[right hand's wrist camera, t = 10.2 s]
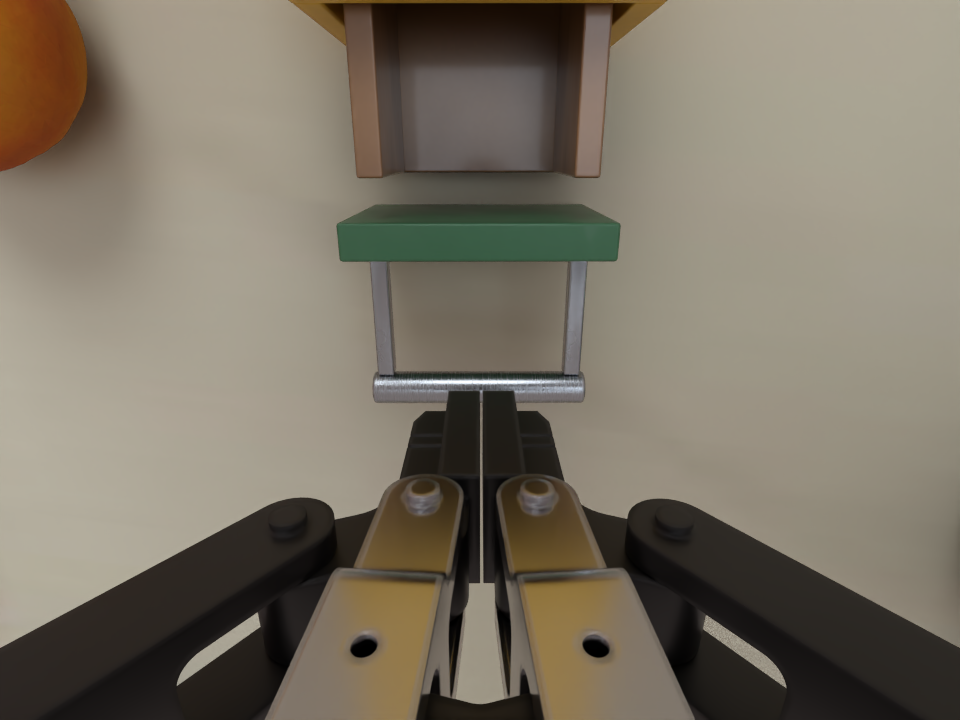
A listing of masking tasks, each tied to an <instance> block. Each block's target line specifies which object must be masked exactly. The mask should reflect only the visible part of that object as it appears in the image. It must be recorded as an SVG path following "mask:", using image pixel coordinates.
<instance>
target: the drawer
mask: <svg viewBox="0 0 960 720" xmlns="http://www.w3.org/2000/svg"><path fill="white" fill-rule="evenodd" d="M343 11H344V23H345V36H346V48H347V61H348V73H349V86H350V98H351V111H352V123H353V136H354V148H355V161H356V173H357V177H358V178H383V177H387V176H391V175H395V174H399V173H403V172H556V173H560V174H563V175H567V176H571V177H575V178H598V177H600V172H601V159H602V146H603V133H604V120H605V107H606V94H607V81H608V67H609V54H610V41H611V28H612V15H613V3H343ZM620 227H621V226H620V223H618V222H616V221H614V220H612V219H610V218H608V217H606V216H604V215H602V214H600V213H598V212H596V211H594V210H592V209H590V208H588V207H586V206H584V205H374V206H372V207H370V208H368V209H366V210H364V211H362V212H360V213H358V214H356V215H354V216H352V217H350V218H348V219H346V220H344V221H342V222H340V223H338V224H337V236H338V246H339V256H340V260H341V261H343V262H370V270H371V284H372V297H373V310H374V323H375V336H376V350H377V363H378V372H375V374H374V378H373V397H374V401H375V402H376V403H447V400H448V392H449V391H480V403H483V390H514V394H515V401H516V403H581V402H583V400H584V397H585V378H584V375H583V372H581V371H580V360H581V346H582V332H583V318H584V304H585V290H586V277H587V263H588V261H617V259H618V248H619V237H620ZM501 261H568V270H567V287H566V304H565V321H564V338H563V355H562V370H563V371H395V370H396V358H395V342H394V326H393V310H392V294H391V278H390V262H501Z"/></svg>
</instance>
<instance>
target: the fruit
mask: <svg viewBox="0 0 960 720" xmlns="http://www.w3.org/2000/svg"><path fill="white" fill-rule="evenodd" d="M86 85H87V60H86V51H85V46H84V42H83V38H82V34H81V31H80V29H79V26H78V23H77V21H76V19H75V17H74V15H73V13H72V11H71V9H70V7H69V5H68V4H67V3H66V1H65V0H0V171H3V170H7V169H11V168H13V167H16V166H18V165H21V164H24V163H25V162H27V161H29V160H30V159H32V158H34V157H36V156H38V155H40V154H42V153H44V152H46V151H47V150H49V149H50V148H51V147H52V146H54V145H55V144H57V143H58V142H59V141H60V140H61V139H62V138H63V137H64V136H65V135H66V133H67V132H68V130H69V129H70V126H71V124H72V123H73V121H74V119H75V118H76V116H77V113H78V111H79V110H80V108H81V106H82V104H83V101H84V97H85V93H86Z"/></svg>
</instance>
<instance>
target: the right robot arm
mask: <svg viewBox="0 0 960 720" xmlns="http://www.w3.org/2000/svg"><path fill="white" fill-rule="evenodd" d="M483 581H484V583H495V627H496V635H497V643H498V651H499V659H500V667H501V675H502V683H503V691H504V699H503V700H500V701H496V702H492V703H488V704H472V703H468V702H464V701H460V700H457V699H456V691H457V683H458V675H459V667H460V659H461V651H462V643H463V635H464V627H465V607H466V605H467V603H468V597H469V583H480V391H449V392H448V400H447V408H446V411H425V412H424V413H423V414H422V415H421V416H420V417H419V418H418V419H416V420H415V421H414V423H413V427H412V431H411V437H410V439H409V443H408V448H407V451H406V455H405V459H404V463H403V467H402V472H401V476H400V480H398V481H396V482H394V483H393V484H391V485H390V486H389V487H388V488H387V489H386V490H385V492H384V494H383V496H382V498H381V501H380V503H379V506H378V508H376V509H374V510H372V511H369V512H366V513H363V514H359V515H355V516H350V517H345V518H341V519H336V520H334V513H333V510H332V509H331V507H330V506H329V505H327V504H326V503H324V502H322V501H320V500H317V499H312V498H292V499H286V500H282V501H278V502H276V503H273V504H270V505H268V506H266V507H264V508H262V509H260V510H258V511H257V512H255V513H253V514H251V515H249V516H247V517H245V518H243V519H242V520H240V521H238V522H236V523H234V524H232V525H230V526H228V527H227V528H225V529H223V530H221V531H219V532H217V533H215V534H213V535H212V536H210V537H208V538H206V539H204V540H202V541H200V542H198V543H197V544H195V545H193V546H191V547H189V548H187V549H185V550H183V551H182V552H180V553H178V554H176V555H174V556H172V557H170V558H168V559H167V560H165V561H163V562H161V563H159V564H157V565H155V566H153V567H152V568H150V569H148V570H146V571H144V572H142V573H140V574H138V575H137V576H135V577H133V578H131V579H129V580H127V581H125V582H123V583H121V584H120V585H118V586H116V587H114V588H112V589H110V590H108V591H106V592H105V593H103V594H101V595H99V596H97V597H95V598H93V599H91V600H90V601H88V602H86V603H84V604H82V605H80V606H78V607H76V608H75V609H73V610H71V611H69V612H67V613H65V614H63V615H61V616H60V617H58V618H56V619H54V620H52V621H50V622H48V623H46V624H45V625H43V626H41V627H39V628H37V629H35V630H33V631H31V632H30V633H28V634H26V635H24V636H22V637H20V638H18V639H16V640H15V641H13V642H11V643H9V644H7V645H5V646H3V647H1V648H0V720H960V648H959V647H957V646H955V645H953V644H951V643H949V642H947V641H945V640H944V639H942V638H940V637H938V636H936V635H934V634H932V633H930V632H929V631H927V630H925V629H923V628H921V627H919V626H917V625H915V624H914V623H912V622H910V621H908V620H906V619H904V618H902V617H900V616H899V615H897V614H895V613H893V612H891V611H889V610H887V609H885V608H884V607H882V606H880V605H878V604H876V603H874V602H872V601H870V600H869V599H867V598H865V597H863V596H861V595H859V594H857V593H855V592H854V591H852V590H850V589H848V588H846V587H844V586H842V585H840V584H839V583H837V582H835V581H833V580H831V579H829V578H827V577H825V576H824V575H822V574H820V573H818V572H816V571H814V570H812V569H810V568H809V567H807V566H805V565H803V564H801V563H799V562H797V561H795V560H794V559H792V558H790V557H788V556H786V555H784V554H782V553H780V552H779V551H777V550H775V549H773V548H771V547H769V546H767V545H765V544H763V543H762V542H760V541H758V540H756V539H754V538H752V537H750V536H748V535H747V534H745V533H743V532H741V531H739V530H737V529H735V528H733V527H732V526H730V525H728V524H726V523H724V522H722V521H720V520H718V519H717V518H715V517H713V516H711V515H709V514H707V513H705V512H703V511H702V510H700V509H698V508H696V507H694V506H692V505H689V504H686V503H683V502H680V501H676V500H670V499H650V500H645V501H642V502H640V503H638V504H636V505H635V506H633V507H632V509H631V510H630V511H629V514H628V519H624V518H619V517H615V516H610V515H606V514H602V513H598V512H596V511H593V510H590V509H588V508H586V507H584V506H583V505H581V503H580V501H579V498H578V496H577V494H576V492H575V490H574V489H573V488H572V487H571V486H570V485H569V484H567V483H566V482H564V478H563V474H562V470H561V466H560V462H559V458H558V454H557V451H556V447H555V443H554V439H553V437H552V431H551V427H550V423H549V421H548V420H546V419H545V418H544V417H543V416H542V415H541V414H540V413H539V412H538V411H517V408H516V401H515V394H514V390H483ZM257 612H258V616H259V621H260V626H261V627H260V628H258V629H257V630H256V631H254V632H253V633H251V634H250V635H248V636H247V637H246V638H244V639H243V640H241V641H240V642H239V643H237V644H236V645H234V646H233V647H232V648H230V649H229V650H227V651H226V652H225V653H223V654H222V655H220V656H219V657H217V658H216V659H215V660H213V661H212V662H210V663H209V664H208V665H206V666H205V667H203V668H202V669H201V670H199V671H198V672H196V673H195V674H193V675H192V676H191V677H189V678H188V679H186V680H185V681H184V682H182V683H181V684H179V685H178V686H177V681H178V678H179V676H180V673H181V672H182V670H183V668H184V667H185V666H186V664H187V663H188V662H189V661H190V660H191V659H192V658H193V657H194V656H195V655H196V654H197V653H199V652H200V651H201V650H203V649H204V648H206V647H207V646H209V645H210V644H212V643H213V642H215V641H216V640H217V639H219V638H220V637H222V636H223V635H225V634H226V633H228V632H229V631H231V630H232V629H234V628H235V627H236V626H238V625H239V624H241V623H242V622H244V621H245V620H247V619H248V618H250V617H251V616H253V615H254V614H255V613H257ZM706 615H707V616H709V617H710V618H712V619H713V620H715V621H716V622H718V623H719V624H721V625H722V626H724V627H725V628H727V629H728V630H729V631H731V632H732V633H734V634H735V635H737V636H738V637H740V638H741V639H743V640H744V641H746V642H747V643H748V644H750V645H751V646H753V647H754V648H756V649H757V650H759V651H760V652H762V653H763V654H764V655H766V656H767V657H768V658H769V659H770V660H771V661H772V662H773V663H774V664H775V665H776V666H777V668H778V669H779V670H780V672H781V674H782V675H783V677H784V680H785V682H786V686H787V689H786V688H785V687H783V686H782V685H781V684H779V683H778V682H776V681H775V680H774V679H772V678H771V677H769V676H768V675H767V674H765V673H764V672H762V671H761V670H759V669H758V668H757V667H755V666H754V665H752V664H751V663H750V662H748V661H747V660H745V659H744V658H743V657H741V656H740V655H738V654H737V653H736V652H734V651H733V650H731V649H730V648H728V647H727V646H726V645H724V644H723V643H721V642H720V641H719V640H717V639H716V638H714V637H713V636H712V635H710V634H709V633H707V632H706V631H704V630H703V626H704V621H705V616H706Z"/></svg>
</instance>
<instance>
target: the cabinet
mask: <svg viewBox="0 0 960 720" xmlns="http://www.w3.org/2000/svg"><path fill="white" fill-rule="evenodd" d="M289 1H290V2H291V3H293V4H294V5H296V6H297V7H298V8H299V9H301V10H302V11H303V12H304V13H306V14H307V15H308V16H309V17H311V18H312V19H313V20H314V21H316V22H317V23H318V24H319V25H321V26H322V27H323V28H324V29H326V30H327V31H328V32H329V33H331V34H332V35H333V36H334V37H336V38H337V39H338V40H339V41H341V42H342V43H343V44H344V45H346V36H345V23H344V11H343V3H613V15H612V28H611V41H610V47H611V46H612V45H613V44H615V43H616V42H617V41H618V40H620V39H621V38H622V37H623V36H624V35H626V34H627V33H628V32H629V31H631V30H632V29H633V28H634V27H636V26H637V25H638V24H639V23H641V22H642V21H643V20H644V19H646V18H647V17H648V16H649V15H650V14H652V13H653V12H654V11H655V10H657V9H658V8H659V7H660V6H662V5H663V4H664V3H665V2H666V1H667V0H289Z"/></svg>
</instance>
